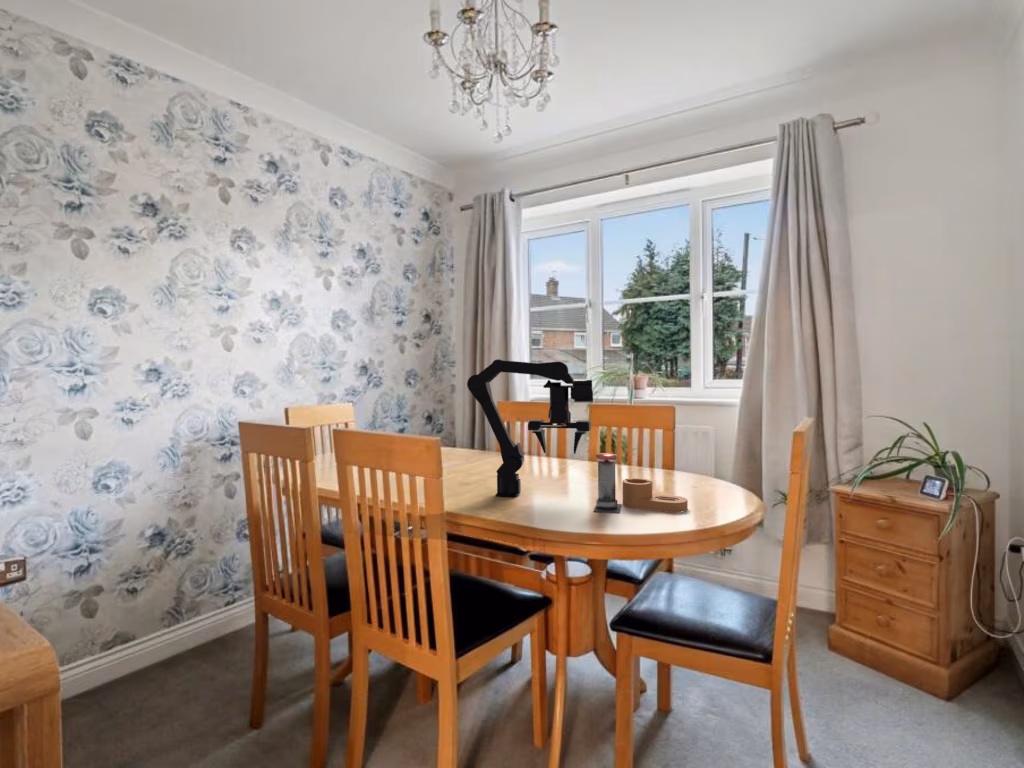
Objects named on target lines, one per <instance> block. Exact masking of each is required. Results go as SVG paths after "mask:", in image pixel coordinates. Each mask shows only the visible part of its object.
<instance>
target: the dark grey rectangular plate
mask: <svg viewBox="0 0 1024 768" xmlns="http://www.w3.org/2000/svg"><path fill="white" fill-rule="evenodd" d="M622 505H623V503H617V509H615V510H601V509H598V508H597V507H596V506H595V507H594V509H593V513H610V514H620V513H621V508H622Z"/></svg>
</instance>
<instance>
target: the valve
mask: <svg viewBox="0 0 1024 768" xmlns="http://www.w3.org/2000/svg"><path fill="white" fill-rule="evenodd" d="M595 459H597V460H598V461H597V499H596V501H595V503H596V505H595V507H597V508H598V509H601V510H615V509H617V504H618V500H617V499H616V496H617V495H616V490H617V489H616V461H615V460H617V459H619V458H618V454H616V453H610V452H609V453H608V452H607V453H606V452H601V453H596V454H595Z"/></svg>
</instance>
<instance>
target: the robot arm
mask: <svg viewBox="0 0 1024 768" xmlns="http://www.w3.org/2000/svg"><path fill="white" fill-rule="evenodd" d="M501 373H509V374H511V373H512V374H522V375H533V376H539V377H542V378H546V379H548V380H547V382H546V383H545V384H544V385H543V388H544V389H549V409H548V414H547V415H548V419H549V421H544V419H531V420H530V421H528V423H527V431H531V433H532V434H535V436H536V437H537V439H538V441H539V444H540V446H541V449H542V451H543V453H544V454H547V444H546V429H575V430H576V431H575V432H574V439H573V454H574V455H576V453H577V451H578V447H579V443H580V440H581V438H582V436H583V435H585V434H587V432H590V431H591V429H592V422H591V421H590V420H589V419H577V421H575V422H571V421H572V420H571V419H572V417H571V416H572V413H571V412H570V408H569V407H570V405H569V404H570V403H569V402H570V401H569V388H570V400H573V401H574V403H593V402H594V391H593V380H592V379H586V380H575V379H574V377H572V376H571V374H570V373H569V367H568V365H567V364H566V363H565V362H564V361H551V362H528V361H518V360H517V361H514V360H504V359H501V358H498V359H494V360H493V361H492V363H490V364H489V365H488V366H487V367H485V368H484V369H483V370H482V371H480V372H479V373H478V374H473V375H471V376H470V377H469V378H468V379H467V382H466V385H467V389H468V391H469V393H471V395H472V396H473V397H474V399H475V400H476V401H477V402H478V403H479V405H480V406H481V409H482V411H483V413H484V416H485V417H486V419H487V421H488V423H489V426H490V427H491V430H492V432H493V434H494V437H495V439H496V440H497V443H498V445H499V448H500V449H499V450H500V455H501V460H502V464H500V465H499V467H498V468H497V470H496V486H497V487H496V491H497V492H496V493H495V496H496V497H507V498H508V497H512V498H513V497H514V498H515V497H517V496H518V495H519V494H520V493H521V491H522V490H521V489H522V487H521V484H522V483H521V478H519V477H520V476H519V475H520V474H519V473H517V472H518V471H520V470H521V468H522V466H523V465H524V462H525V452H524V451H523V449H522V446H521V443H520V442H517V443H515V442H514V440H513V439H512V438H511V435H510V433H509V431H508V428H507V427H506V425H505V423H504V420H503V419H502V416H501V414H500V412H499V409H498V408H497V407H498V406H496V402H495V401H494V398H493V393H492V389H491V384H490V383H491V382H492V381H493V380H494V379H495V378H497V377H498V376H499V374H501ZM551 380H553V382H552V381H551ZM554 380H555V381H554ZM556 381H557V382H556ZM561 381H562V382H563V383H564V385H562V382H561ZM565 384H567V385H565Z"/></svg>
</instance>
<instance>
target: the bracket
mask: <svg viewBox="0 0 1024 768" xmlns="http://www.w3.org/2000/svg"><path fill="white" fill-rule="evenodd" d="M622 505H623V506H624V507H626V506H627V508H630V507H631V508H632V509H638V508H639V510H647V509H649V510H648V511H656V510H659V511H660V512H665V511H667V512H668V513H682V512H681V511H684V512H686V510H687V511H688V505H689V503H688V499H687V497H683V496H679V495H671V494H662V493H653V481H652V480H651V479H647V478H642V477H629V478H624V479H622ZM659 511H658V512H659ZM667 512H666V513H667Z"/></svg>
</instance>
